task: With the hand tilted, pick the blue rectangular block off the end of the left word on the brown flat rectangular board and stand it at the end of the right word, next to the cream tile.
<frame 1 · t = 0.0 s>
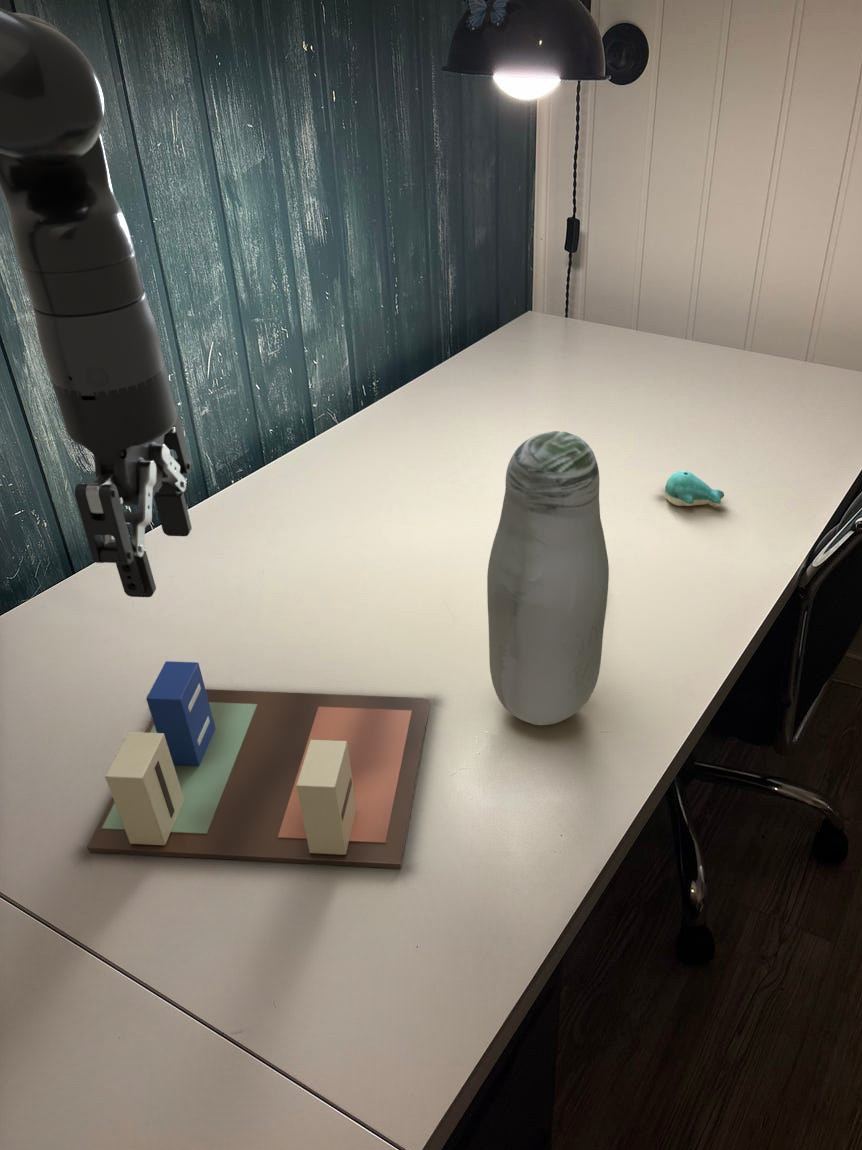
hand: (160, 563, 75), 20 cm above the table, tool pointing down, fingers open, 8 cm apart
blue rectangular block: (191, 746, 87), point 1 cm above the table, touching brown flat rectangular board
brown flat rectangular board: (273, 771, 85), on the table
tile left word: (158, 821, 80), point 1 cm above the table, touching brown flat rectangular board
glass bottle: (543, 708, 91), on the table
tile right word: (333, 830, 79), point 1 cm above the table, touching brown flat rectangular board
whale figurine: (692, 503, 121), on the table
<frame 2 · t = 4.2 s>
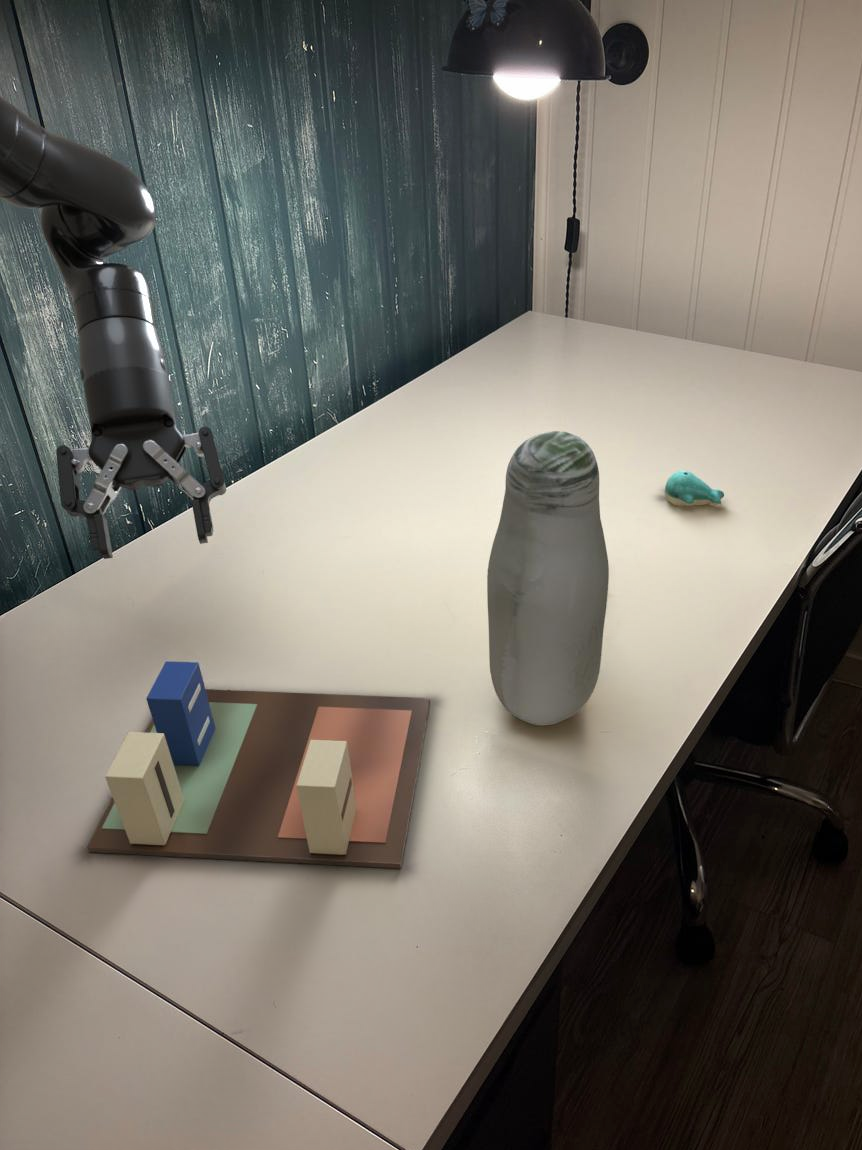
hand: (155, 549, 86), 15 cm above the table, tool tilted 45°, fingers open, 8 cm apart
nothing on the table moved.
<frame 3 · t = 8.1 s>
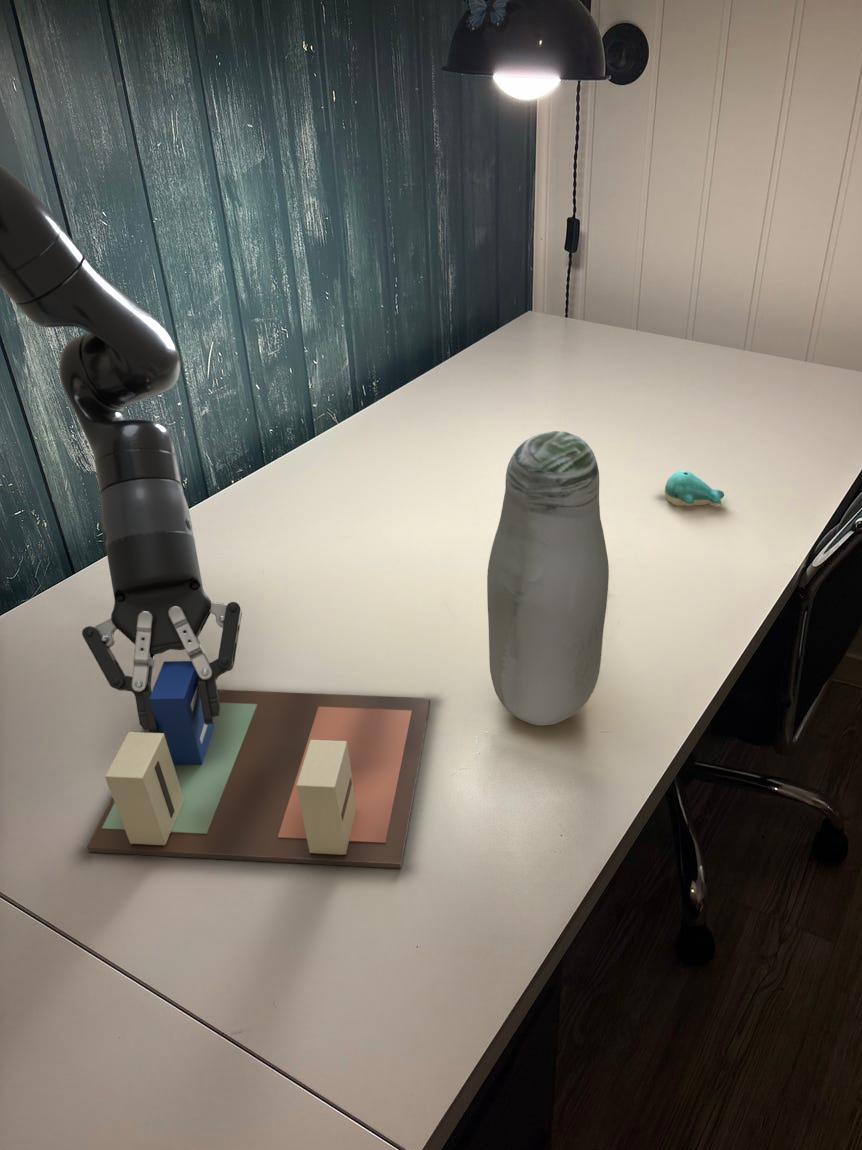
hand: (182, 728, 83), 5 cm above the table, tool tilted 45°, fingers closed on blue rectangular block, 4 cm apart
blue rectangular block: (192, 745, 87), point 1 cm above the table, touching gripper, brown flat rectangular board
everything else where it was.
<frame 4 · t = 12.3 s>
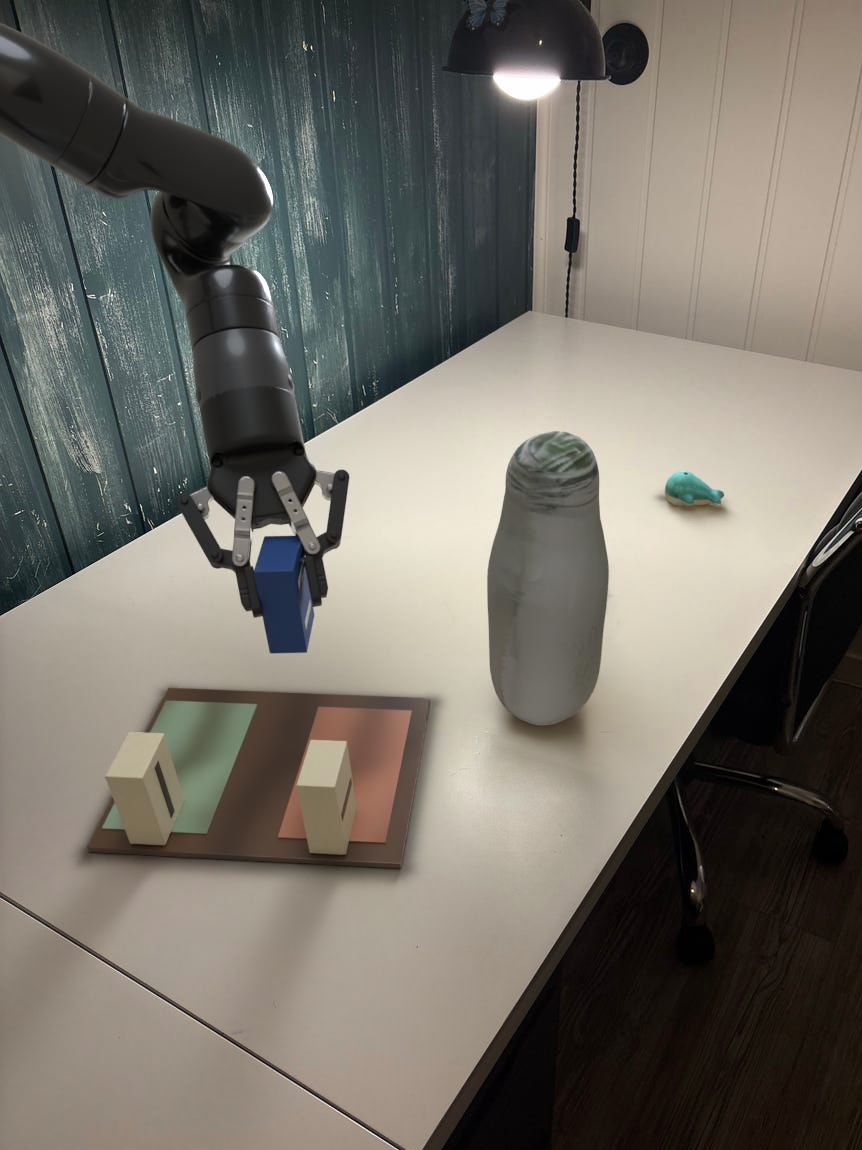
hand: (287, 609, 74), 18 cm above the table, tool tilted 45°, fingers closed on blue rectangular block, 4 cm apart
blue rectangular block: (292, 634, 78), point 14 cm above the table, touching gripper
everything else where it was.
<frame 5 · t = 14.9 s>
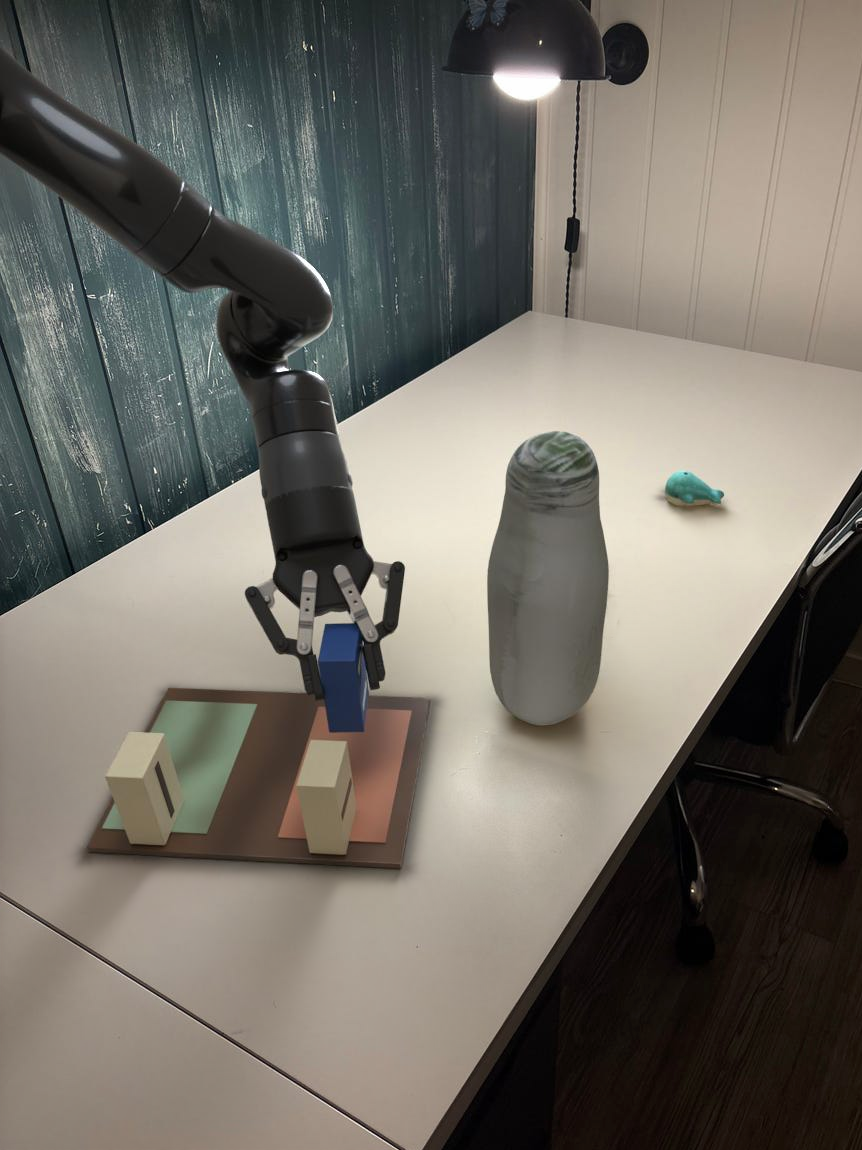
hand: (347, 693, 79), 9 cm above the table, tool tilted 45°, fingers closed on blue rectangular block, 4 cm apart
blue rectangular block: (349, 712, 83), point 5 cm above the table, touching gripper
everything else where it was.
when the fingers open (5 cm above the table, at t = 16.6 s): blue rectangular block stays where it is, resting on brown flat rectangular board.
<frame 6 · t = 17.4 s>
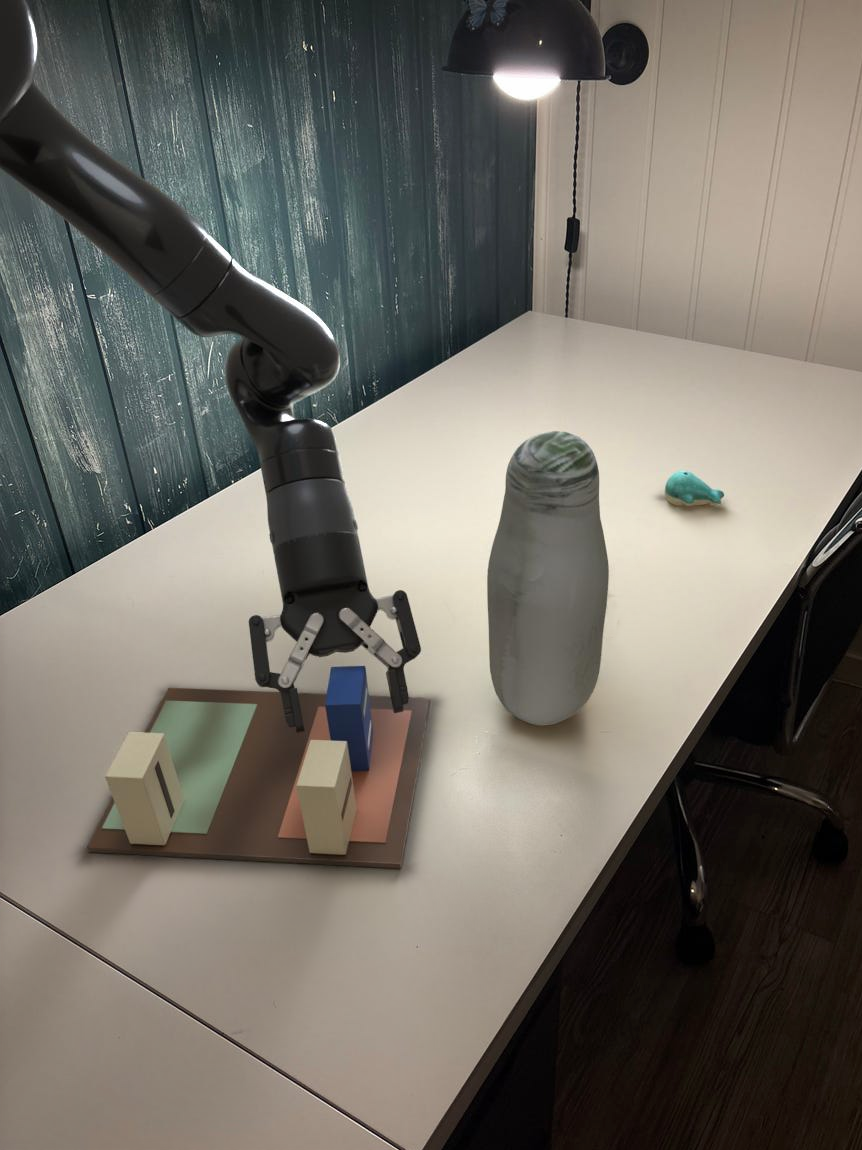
hand: (350, 722, 82), 6 cm above the table, tool tilted 45°, fingers open, 8 cm apart
blue rectangular block: (354, 751, 86), point 1 cm above the table, touching brown flat rectangular board
everything else where it was.
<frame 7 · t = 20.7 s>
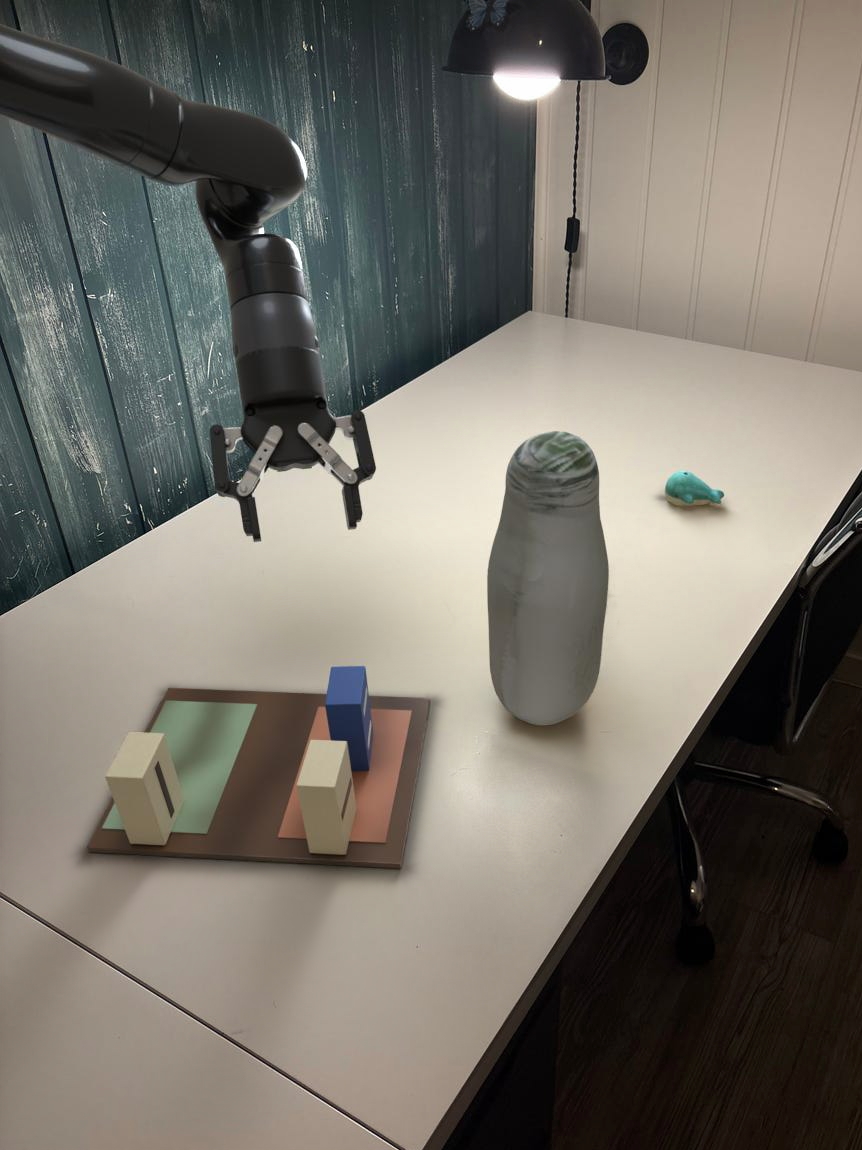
hand: (305, 534, 85), 17 cm above the table, tool tilted 40°, fingers open, 8 cm apart
nothing on the table moved.
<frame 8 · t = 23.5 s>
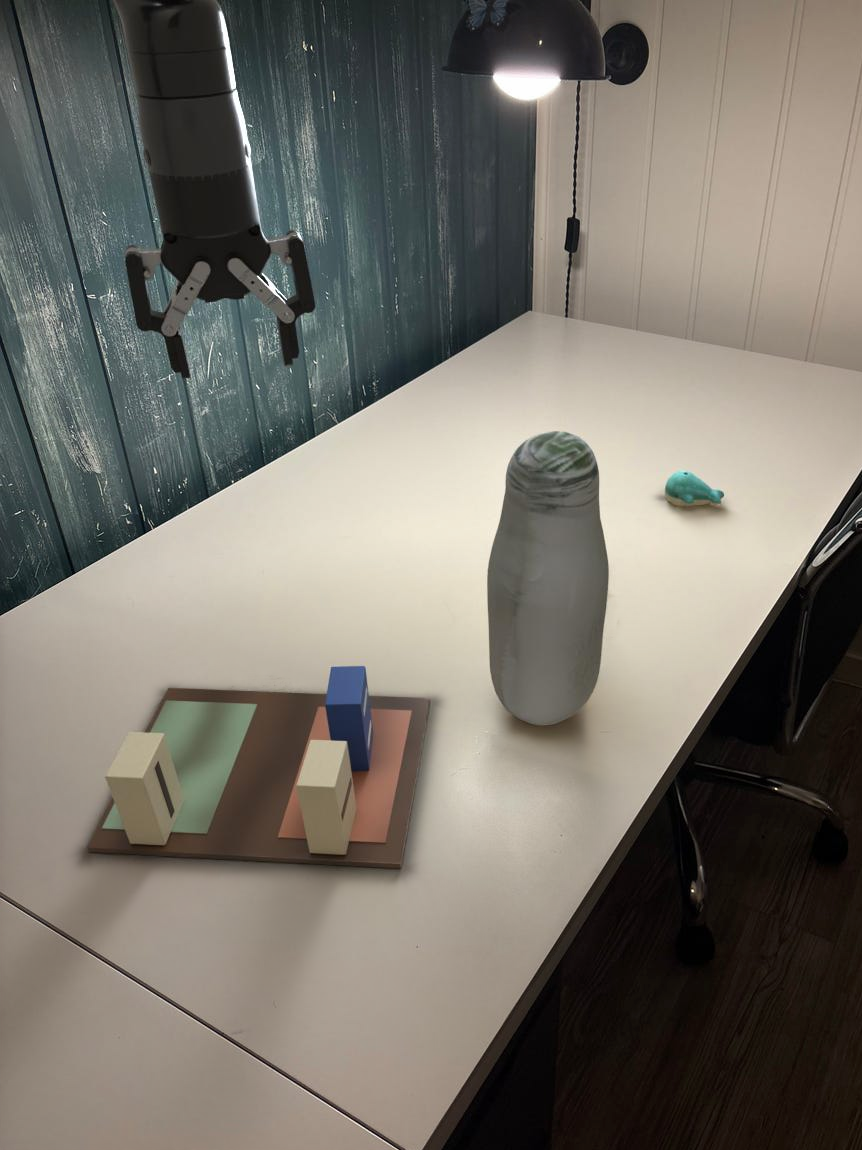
hand: (237, 369, 81), 30 cm above the table, tool pointing down, fingers open, 8 cm apart
nothing on the table moved.
at the end: blue rectangular block 0.3 cm from the target spot, point 0.7 cm above the table; blue rectangular block tilted 0°; the gripper is holding nothing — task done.
